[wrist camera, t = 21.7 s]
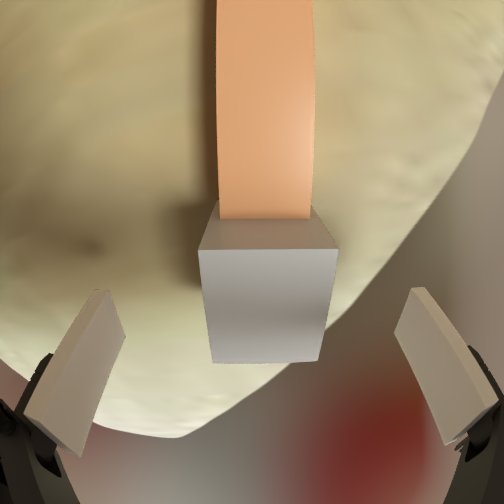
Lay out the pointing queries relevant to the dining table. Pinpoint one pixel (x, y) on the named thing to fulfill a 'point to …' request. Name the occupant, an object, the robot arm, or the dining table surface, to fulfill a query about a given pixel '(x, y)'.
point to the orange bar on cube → (265, 191)
